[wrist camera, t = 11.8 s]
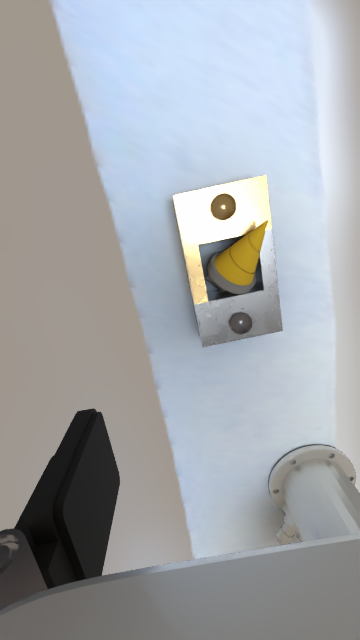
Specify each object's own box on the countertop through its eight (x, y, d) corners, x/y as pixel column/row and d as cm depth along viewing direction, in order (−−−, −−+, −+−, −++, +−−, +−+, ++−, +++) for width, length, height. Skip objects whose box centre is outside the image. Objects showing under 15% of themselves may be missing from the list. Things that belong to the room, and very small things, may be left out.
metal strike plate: (270, 319, 37) (284, 332, 33) (199, 334, 37) (203, 349, 33) (254, 180, 32) (268, 173, 28) (172, 198, 32) (173, 194, 28)
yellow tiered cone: (194, 271, 35) (236, 195, 28) (233, 280, 37) (283, 211, 30) (199, 306, 32) (248, 230, 25) (242, 314, 34) (300, 246, 27)
